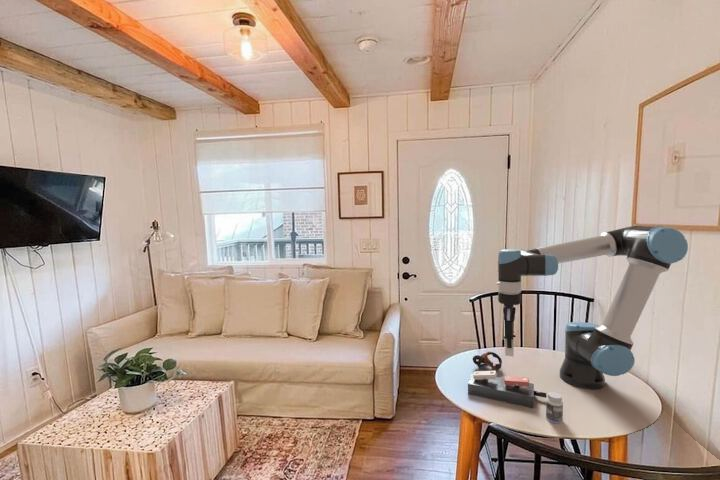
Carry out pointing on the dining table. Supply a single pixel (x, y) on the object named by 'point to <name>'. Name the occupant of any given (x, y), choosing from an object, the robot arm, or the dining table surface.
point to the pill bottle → (554, 407)
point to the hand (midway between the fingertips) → (509, 355)
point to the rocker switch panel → (503, 391)
